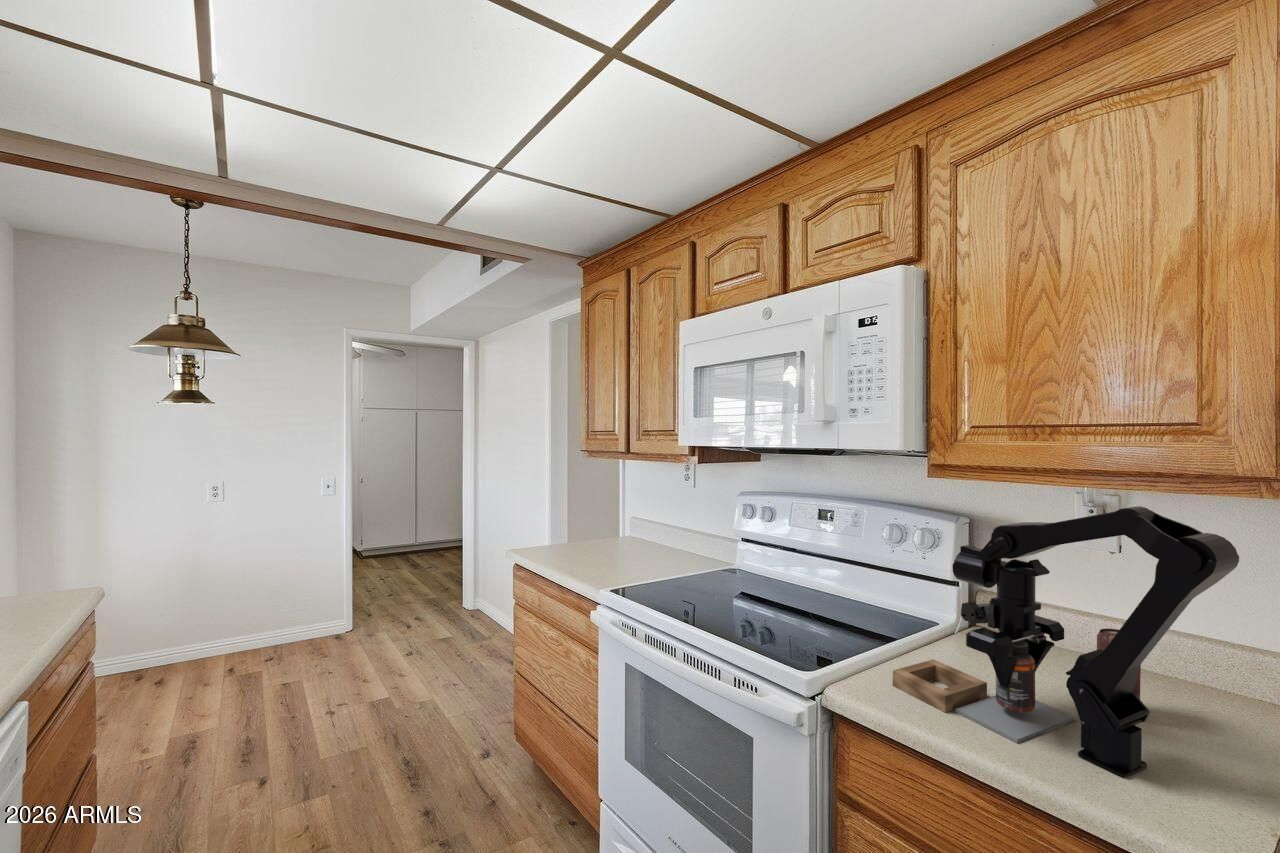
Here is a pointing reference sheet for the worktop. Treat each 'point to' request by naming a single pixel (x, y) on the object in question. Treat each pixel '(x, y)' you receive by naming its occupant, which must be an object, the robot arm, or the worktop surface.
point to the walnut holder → (947, 699)
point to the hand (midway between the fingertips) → (1015, 683)
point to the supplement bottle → (1019, 682)
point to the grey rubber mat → (1014, 719)
